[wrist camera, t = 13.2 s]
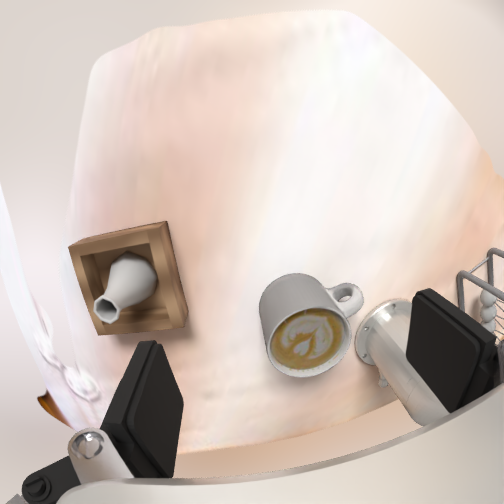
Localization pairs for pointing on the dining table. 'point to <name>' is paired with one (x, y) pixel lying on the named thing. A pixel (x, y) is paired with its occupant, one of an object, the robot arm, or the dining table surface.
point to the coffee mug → (307, 323)
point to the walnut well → (159, 256)
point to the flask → (126, 286)
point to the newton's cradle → (484, 292)
